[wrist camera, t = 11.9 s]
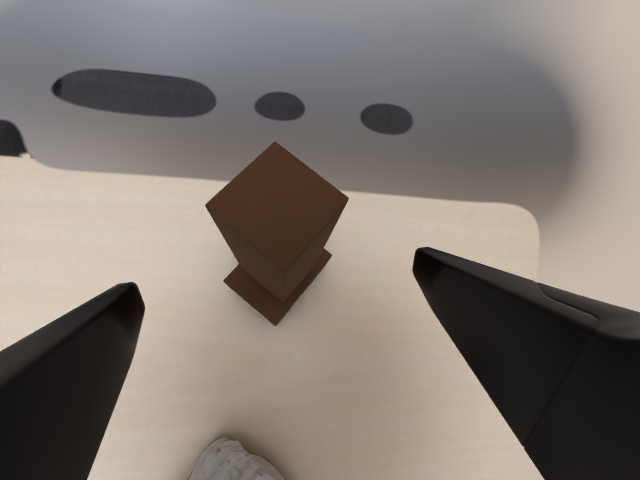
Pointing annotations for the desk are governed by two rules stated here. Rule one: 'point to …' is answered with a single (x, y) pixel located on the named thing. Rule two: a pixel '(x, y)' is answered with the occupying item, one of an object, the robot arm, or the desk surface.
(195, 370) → the desk surface
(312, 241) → the stamp
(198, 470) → the stone
